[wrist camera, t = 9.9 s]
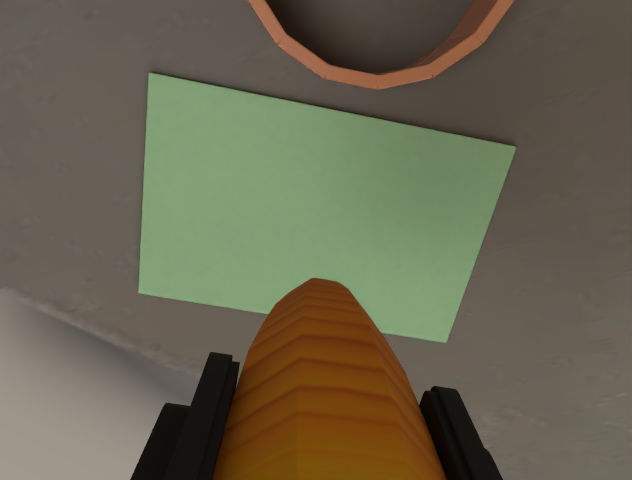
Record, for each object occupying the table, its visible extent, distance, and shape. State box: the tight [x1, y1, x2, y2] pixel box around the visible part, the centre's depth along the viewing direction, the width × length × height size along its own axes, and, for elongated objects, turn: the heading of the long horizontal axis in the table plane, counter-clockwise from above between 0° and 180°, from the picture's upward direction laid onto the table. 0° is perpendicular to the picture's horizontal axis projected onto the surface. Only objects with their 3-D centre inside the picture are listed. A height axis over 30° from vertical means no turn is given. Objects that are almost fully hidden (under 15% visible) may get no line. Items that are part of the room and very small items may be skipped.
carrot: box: [212, 278, 447, 480], centre depth 10 cm, size 5×5×15 cm
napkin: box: [138, 73, 516, 343], centre depth 25 cm, size 20×13×1 cm, turn 79°
